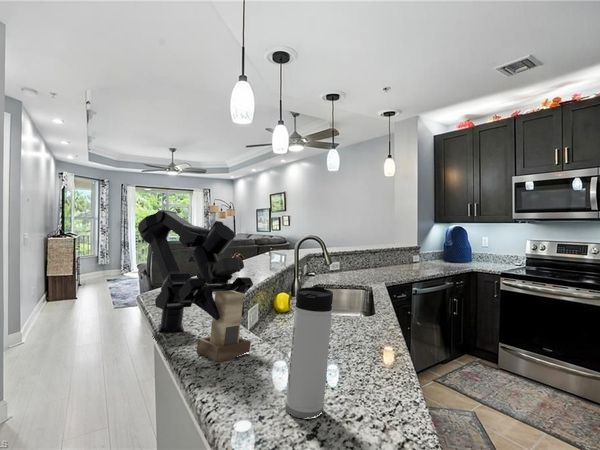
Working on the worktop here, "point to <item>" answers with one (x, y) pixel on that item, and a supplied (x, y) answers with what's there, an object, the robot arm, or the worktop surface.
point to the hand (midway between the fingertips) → (230, 317)
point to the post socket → (222, 349)
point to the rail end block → (227, 318)
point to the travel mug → (309, 352)
